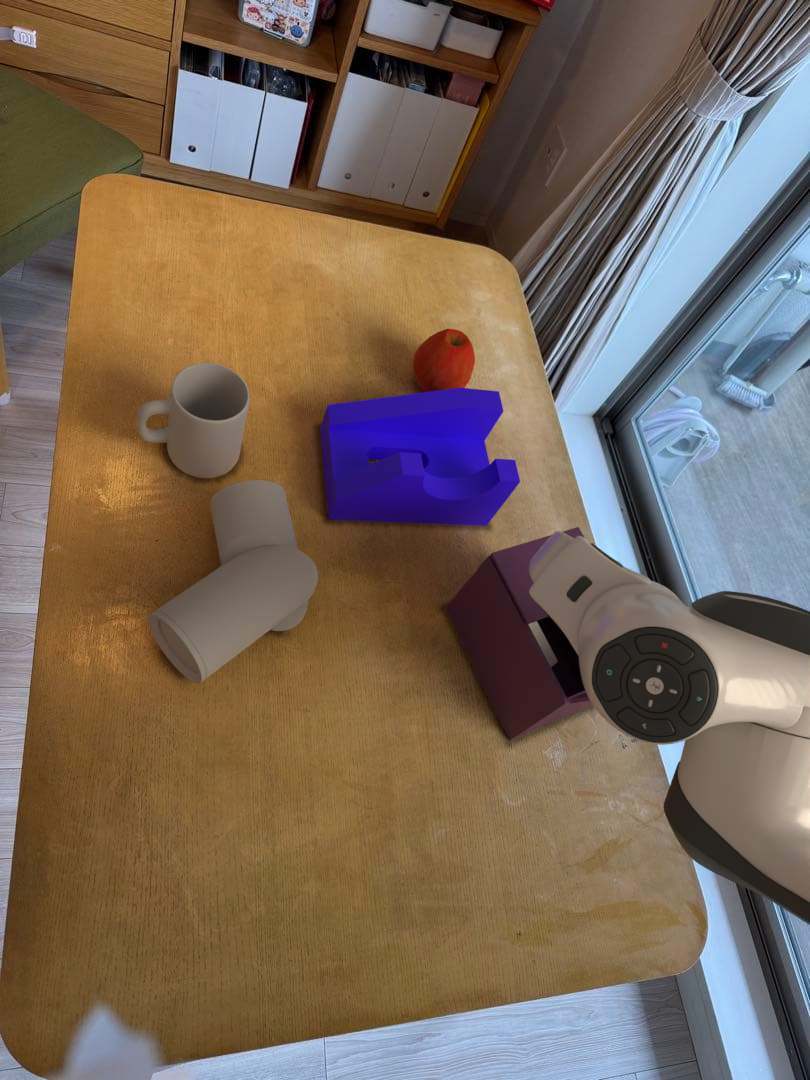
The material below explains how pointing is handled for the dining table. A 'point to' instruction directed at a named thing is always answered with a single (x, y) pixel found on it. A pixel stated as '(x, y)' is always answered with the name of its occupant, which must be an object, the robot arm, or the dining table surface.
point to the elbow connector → (239, 583)
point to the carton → (516, 642)
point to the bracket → (415, 459)
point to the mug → (201, 419)
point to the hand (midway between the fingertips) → (625, 609)
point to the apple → (444, 361)
